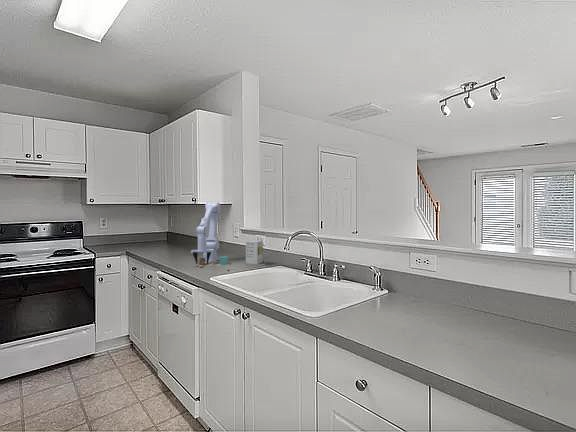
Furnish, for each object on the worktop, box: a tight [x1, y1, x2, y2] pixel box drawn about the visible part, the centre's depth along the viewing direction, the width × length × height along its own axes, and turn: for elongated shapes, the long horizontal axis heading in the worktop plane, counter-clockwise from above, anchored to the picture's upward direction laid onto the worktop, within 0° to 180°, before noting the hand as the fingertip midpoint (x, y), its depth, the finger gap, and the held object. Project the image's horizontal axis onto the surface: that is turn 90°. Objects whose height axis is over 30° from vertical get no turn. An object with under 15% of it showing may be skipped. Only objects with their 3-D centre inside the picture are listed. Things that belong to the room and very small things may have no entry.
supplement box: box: [245, 240, 264, 265], centre depth 240 cm, size 10×9×17 cm
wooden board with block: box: [198, 257, 231, 268], centre depth 233 cm, size 20×8×5 cm, turn 96°
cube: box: [219, 255, 229, 266], centre depth 233 cm, size 5×5×5 cm
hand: (202, 263), depth 232 cm, fingers open, 6 cm apart
